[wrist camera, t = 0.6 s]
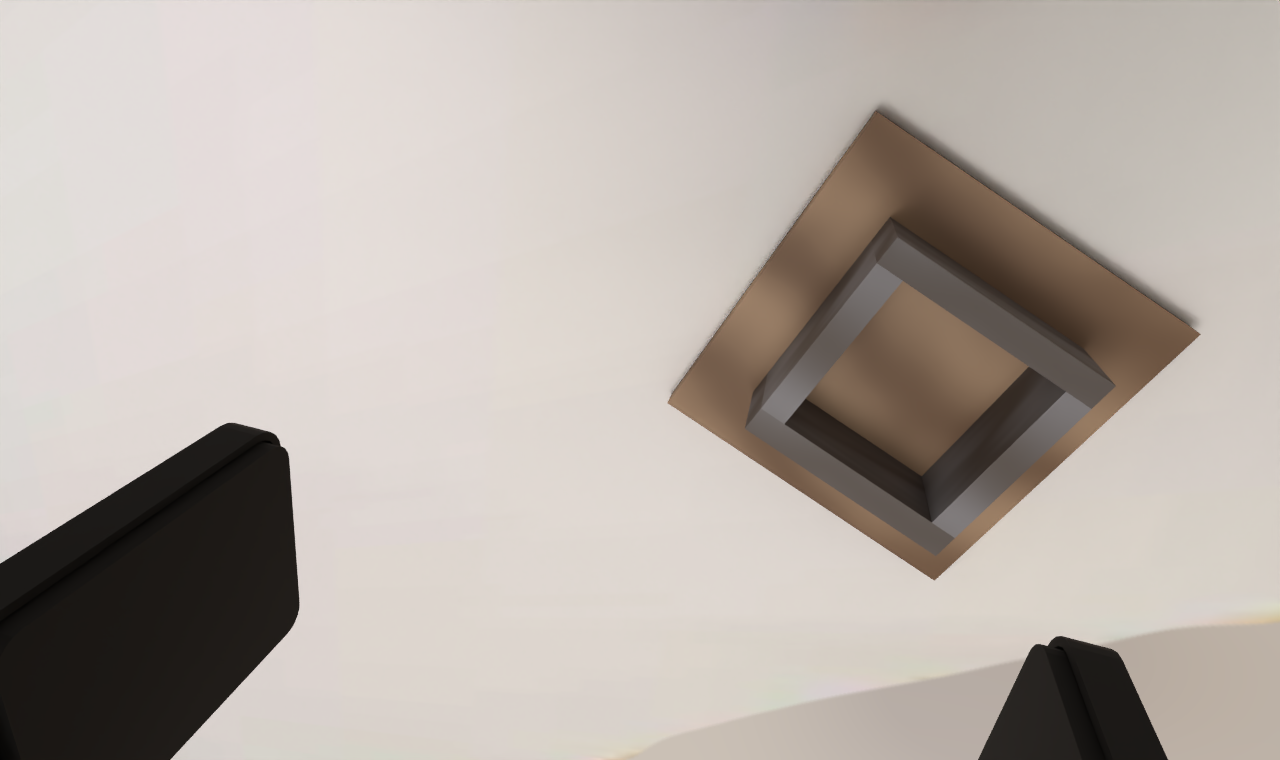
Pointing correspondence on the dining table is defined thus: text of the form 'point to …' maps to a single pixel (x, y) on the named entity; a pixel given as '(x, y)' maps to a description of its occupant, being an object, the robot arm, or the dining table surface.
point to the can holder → (923, 351)
